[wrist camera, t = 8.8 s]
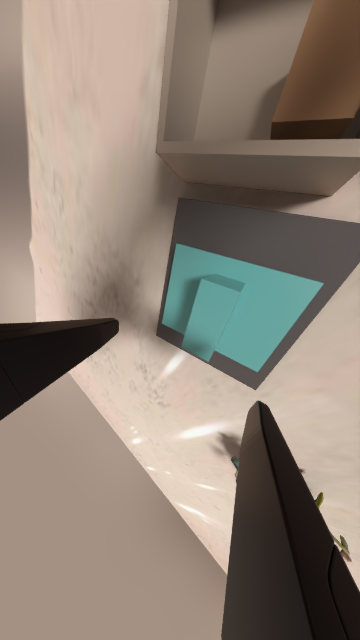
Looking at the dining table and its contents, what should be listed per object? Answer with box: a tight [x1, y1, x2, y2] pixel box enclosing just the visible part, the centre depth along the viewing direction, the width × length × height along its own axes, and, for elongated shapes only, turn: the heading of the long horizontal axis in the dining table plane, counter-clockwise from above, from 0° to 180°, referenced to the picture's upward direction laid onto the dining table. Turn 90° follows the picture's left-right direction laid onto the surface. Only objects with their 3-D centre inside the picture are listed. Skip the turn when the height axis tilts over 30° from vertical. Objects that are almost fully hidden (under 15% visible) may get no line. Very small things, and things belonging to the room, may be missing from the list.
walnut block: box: [270, 0, 360, 140], centre depth 8 cm, size 4×4×3 cm
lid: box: [162, 243, 324, 372], centre depth 14 cm, size 13×10×6 cm
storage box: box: [156, 0, 360, 196], centre depth 8 cm, size 13×10×5 cm
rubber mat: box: [156, 198, 360, 390], centre depth 17 cm, size 17×19×1 cm
